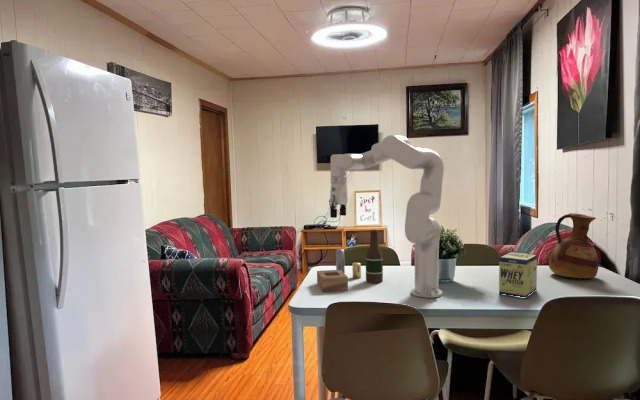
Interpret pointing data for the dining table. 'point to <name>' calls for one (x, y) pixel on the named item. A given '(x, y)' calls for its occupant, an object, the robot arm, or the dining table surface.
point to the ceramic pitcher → (575, 250)
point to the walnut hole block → (332, 280)
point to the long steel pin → (340, 260)
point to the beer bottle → (374, 260)
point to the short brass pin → (356, 270)
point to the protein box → (517, 274)
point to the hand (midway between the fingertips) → (338, 216)
